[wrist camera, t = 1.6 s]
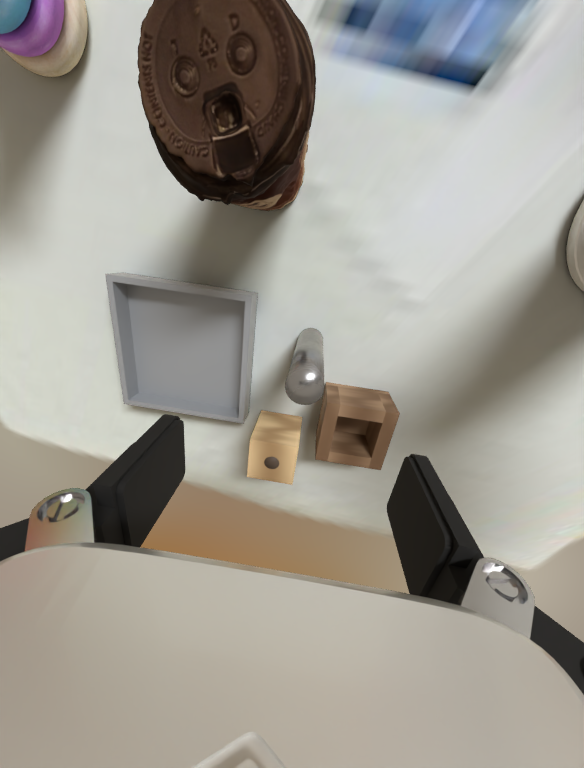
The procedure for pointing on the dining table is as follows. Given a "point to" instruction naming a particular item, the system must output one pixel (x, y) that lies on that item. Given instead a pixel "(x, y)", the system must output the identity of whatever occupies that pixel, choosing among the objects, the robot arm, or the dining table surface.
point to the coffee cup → (229, 97)
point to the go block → (355, 426)
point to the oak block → (274, 447)
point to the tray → (183, 345)
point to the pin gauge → (306, 369)
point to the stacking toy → (44, 34)
